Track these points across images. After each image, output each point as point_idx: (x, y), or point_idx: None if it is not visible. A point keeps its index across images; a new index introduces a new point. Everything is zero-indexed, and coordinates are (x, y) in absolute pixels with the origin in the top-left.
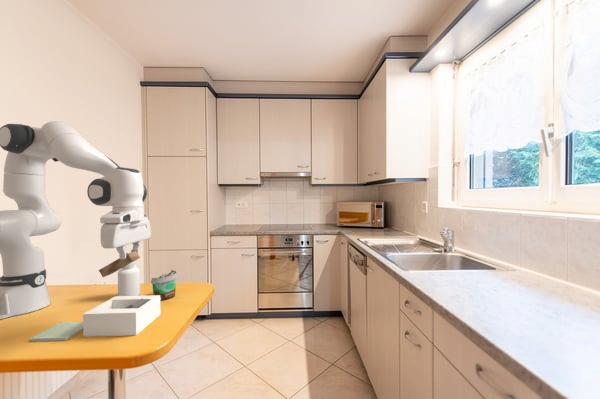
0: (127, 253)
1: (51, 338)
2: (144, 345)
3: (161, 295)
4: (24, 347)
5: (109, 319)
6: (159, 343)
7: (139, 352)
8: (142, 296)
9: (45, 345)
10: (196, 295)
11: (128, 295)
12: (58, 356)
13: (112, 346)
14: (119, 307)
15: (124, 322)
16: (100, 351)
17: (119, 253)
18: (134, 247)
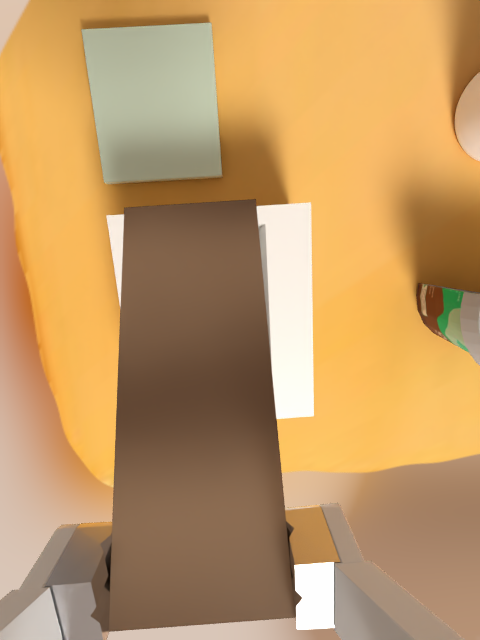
0: (98, 635)
1: (96, 124)
2: (110, 446)
3: (431, 319)
4: (51, 64)
5: None
6: None
7: (79, 453)
8: (302, 345)
9: (72, 136)
10: (460, 421)
11: (470, 136)
12: (29, 247)
13: (95, 364)
14: (262, 258)
15: None
16: (69, 350)
17: (4, 604)
18: (363, 619)
